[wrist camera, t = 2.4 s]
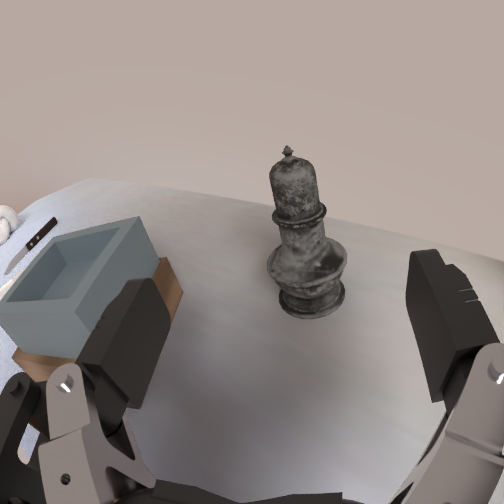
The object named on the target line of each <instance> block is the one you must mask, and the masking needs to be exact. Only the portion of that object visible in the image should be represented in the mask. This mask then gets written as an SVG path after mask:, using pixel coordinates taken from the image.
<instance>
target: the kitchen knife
mask: <svg viewBox="0 0 504 504" xmlns="http://www.w3.org/2000/svg"><path fill="white" fill-rule="evenodd" d="M56 224H57V220H56V218H55V217H53V218H52V219H51V220H50V221H49V222H48V223H47V224H46V225H45V226H44V227H43V228H42V229H41V230H40V231H39V232H38V233H37V234H36V235H35V236H34V237H33V238H32V239H31V240H30V241H29V242H28V243H27V244H26V245H25V247H24V248H23V249H22V250H21V251H20V252H19V253H18V254H17V255H16V256H15V257H14V258H13V259H12V261H11V262H10V264H9V266H8V268H7V270H6V272H5V274H4V275H6V274H8V273H9V272H10V271H11V270H12V269H13V268H14V267H15V266H16V265H17V264H18V262H19V261H20V260H21V259H22V258H23V257H24V256H25V255H26V254H27V253H28V252H29V251H30V250H31V249H32V248H33V247H34V246H35V245H36V244H37V243H38V242H39V241H40V240H41V239H42V238H43V237H44V236H45V235H46V234H47V233H48V232H49V231H50V230H51V229H52V228H53V227H54V226H55V225H56Z"/></svg>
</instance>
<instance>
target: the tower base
mask: <svg viewBox="0 0 504 504" xmlns="http://www.w3.org/2000/svg"><path fill="white" fill-rule="evenodd" d="M158 259H159V261H160V263H159V265H158V267H157V269H156V271H155V273H154V275H153V277H152V280H153V281H154V282H155V284H156V286H157V288H158V290H159V292H160V294H161V296H162V298H163V300H164V302H165V304H166V306H167V308H168V310H169V313H170V317H171V323H172V320H173V318H174V315H175V312H176V310H177V307H178V305H179V302H180V300H181V297H182V294H183V291H182V289H181V287H180V285H179V283H178V281H177V278H176V276H175V274H174V272H173V270H172V268H171V265H170V263H169V261H168V259H167V257H164V258H158ZM12 359H13V360H14V361H15V362H16V363H17V364H18V365H19V366H20V367H21V368H22V369H23V370H24V371H25V372H26V373H27V374H28V375H29V376H30V377H31V378H32V379H33V380H34V381H35V382H41V381H46V380H48V379H49V377H50V376H51V374H52V373H53V372H54V371H55V370H56V369H57V368H58V367H60V366H62V365H64V364H67V363H75V361H76V360H77V359H71V358H61V357H53V356H45V355H37V354H30V353H23V352H22V350H21V349H20V348H19V347H18V348H17V349H16V351H15V353H14V354H13V356H12ZM144 397H145V396H144ZM143 400H144V399H143Z"/></svg>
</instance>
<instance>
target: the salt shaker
mask: <svg viewBox="0 0 504 504" xmlns="http://www.w3.org/2000/svg"><path fill="white" fill-rule="evenodd" d="M292 152H293V150H291V148H290V147H288V146H285V148H284V151H283V152H282V154H284V155H285V158H283V159H282V160H281V161H279V162H277V163H276V164H275V165H274V166H273V167H272V169H271V171H270V173H269V178H270V183H271V187H272V192H273V197H274V201H275V206H276V210H275V211H274V212H273V214H272V220H273V221H274V223H276V224H277V225H279V230H280V235H281V239H282V244H281V245H280V246H279V247H277V248H276V249H275V250H274V251H273V252H272V254H271V255H270V256H269V259H268V261H267V270H268V272H269V274H270V276H271V277H272V278H273V279H274V280H275V281H276V283H277V284H278V285H279V286H280V287H281V291H280V294H279V302H280V305H281V307H282V309H284V310H285V311H286V312H287V313H288V314H290V315H292V316H294V317H297V318H301V319H315V318H320V317H323V316H326V315H328V314H330V313H332V312H333V311H335V310H336V309H337V308H338V307H339V306H340V305H341V304H342V302H343V300H344V297H345V289H344V285H343V283H342V282H341V281H340V280H339V279H340V277H341V275H342V272H343V269H344V267H345V265H346V263H347V253H346V251H345V248H344V247H343V246H342V245H341V244H340V243H338V242H336V241H335V240H333V239H330V238H327V237H326V236H325V231H324V223H323V218H324V216H325V215H326V211H327V209H326V207H325V205H324V204H322V203H321V202H320V201H319V194H318V187H317V181H316V174H315V170H314V167H313V165H312V164H311V163H310V162H309V161H307V160H305V159H302V158H297V157H295V156H292Z"/></svg>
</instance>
